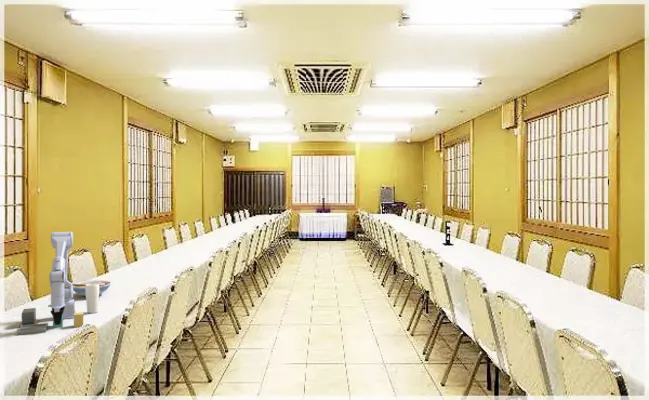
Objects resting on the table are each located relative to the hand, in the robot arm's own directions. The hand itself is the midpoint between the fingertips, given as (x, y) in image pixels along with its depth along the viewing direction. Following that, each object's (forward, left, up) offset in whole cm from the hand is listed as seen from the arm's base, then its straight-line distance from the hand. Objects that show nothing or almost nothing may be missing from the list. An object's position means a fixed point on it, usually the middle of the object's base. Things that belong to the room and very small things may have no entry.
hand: (58, 323), depth 238 cm
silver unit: (+13, -9, -1) cm, 16 cm away
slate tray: (+10, +3, -1) cm, 11 cm away
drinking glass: (-15, -22, -2) cm, 27 cm away
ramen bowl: (-14, -66, -2) cm, 67 cm away
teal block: (0, 0, -1) cm, 1 cm away
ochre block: (-9, +3, -2) cm, 10 cm away
